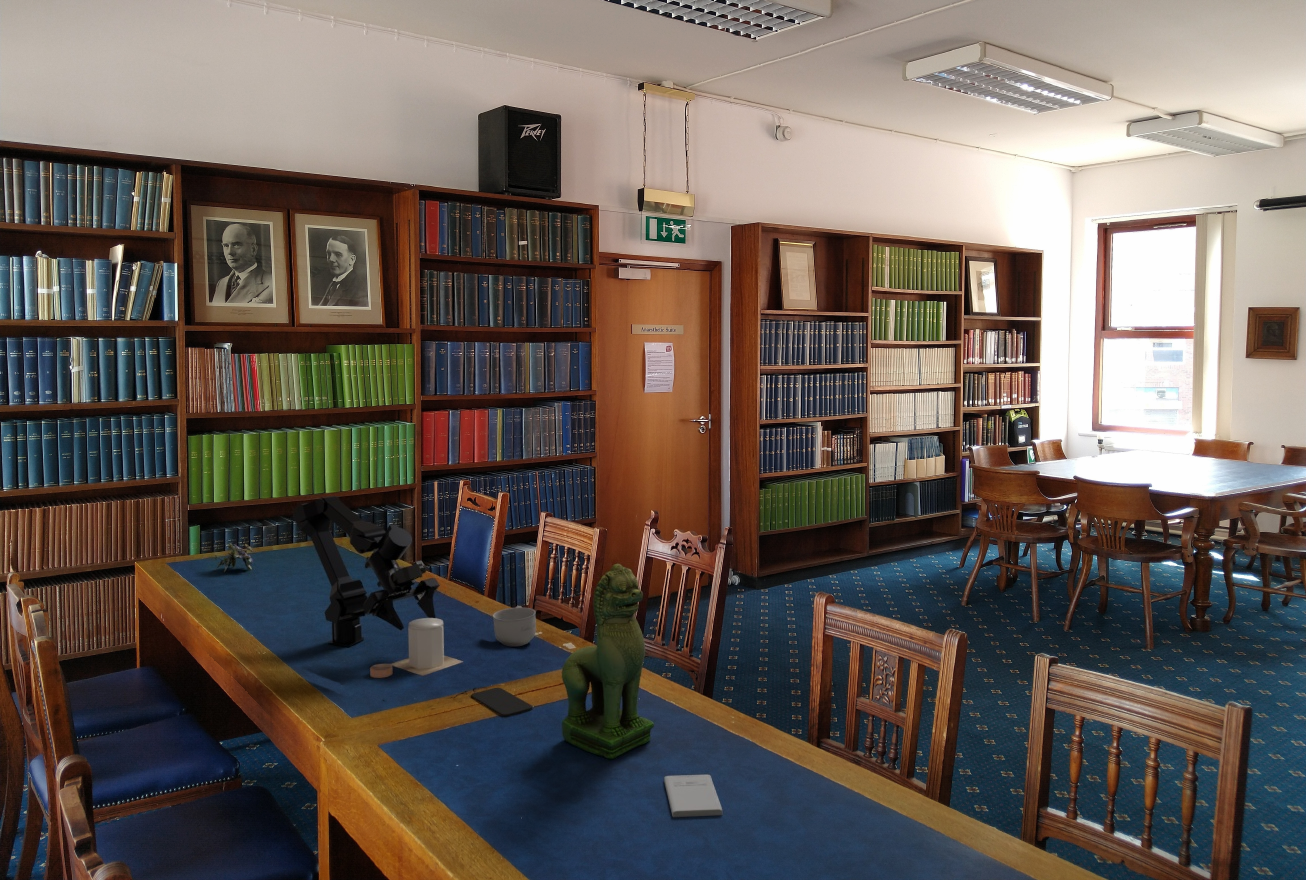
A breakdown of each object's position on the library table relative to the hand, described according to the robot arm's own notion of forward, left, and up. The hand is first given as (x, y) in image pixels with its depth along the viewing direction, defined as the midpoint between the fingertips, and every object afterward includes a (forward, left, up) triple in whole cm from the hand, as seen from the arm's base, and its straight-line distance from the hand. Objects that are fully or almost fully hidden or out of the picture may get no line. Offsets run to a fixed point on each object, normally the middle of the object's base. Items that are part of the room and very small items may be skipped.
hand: (418, 624), depth 217 cm
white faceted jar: (+3, -1, -9) cm, 9 cm away
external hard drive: (+79, -39, -11) cm, 89 cm away
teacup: (+13, +25, -10) cm, 30 cm away
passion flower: (-108, +58, -10) cm, 124 cm away
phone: (+29, -13, -11) cm, 33 cm away
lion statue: (+57, -23, -10) cm, 62 cm away
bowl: (-3, -11, -10) cm, 15 cm away
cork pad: (+3, -1, -10) cm, 10 cm away
